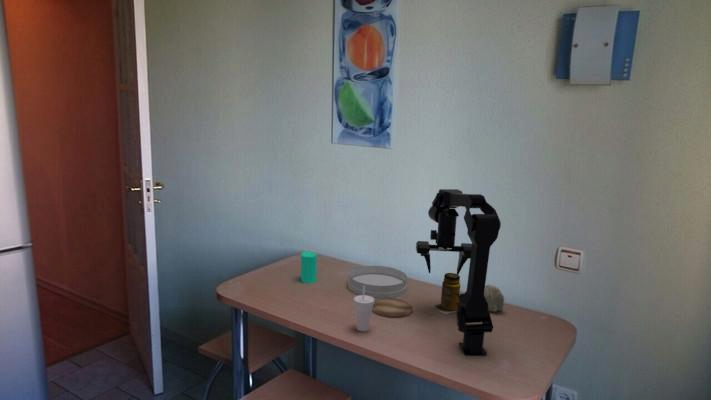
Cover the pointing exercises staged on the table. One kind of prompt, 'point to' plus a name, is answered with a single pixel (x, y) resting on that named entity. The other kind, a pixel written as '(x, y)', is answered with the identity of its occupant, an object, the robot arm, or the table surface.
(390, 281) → the dish
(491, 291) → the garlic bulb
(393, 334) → the table surface
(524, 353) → the table surface
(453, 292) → the condiment
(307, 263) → the candle
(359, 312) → the smoothie
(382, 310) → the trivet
